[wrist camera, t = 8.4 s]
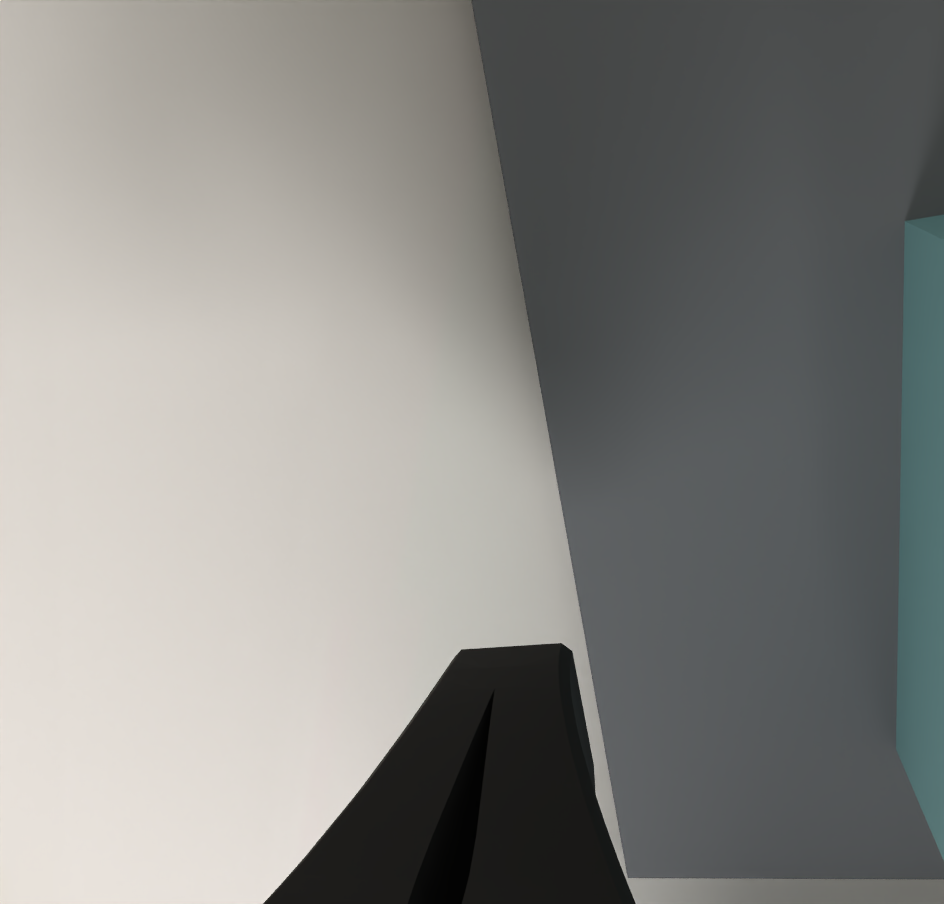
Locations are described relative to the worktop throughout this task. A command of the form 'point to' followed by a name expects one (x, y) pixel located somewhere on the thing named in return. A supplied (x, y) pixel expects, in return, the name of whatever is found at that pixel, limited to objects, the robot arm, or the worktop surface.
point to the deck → (922, 523)
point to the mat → (729, 401)
